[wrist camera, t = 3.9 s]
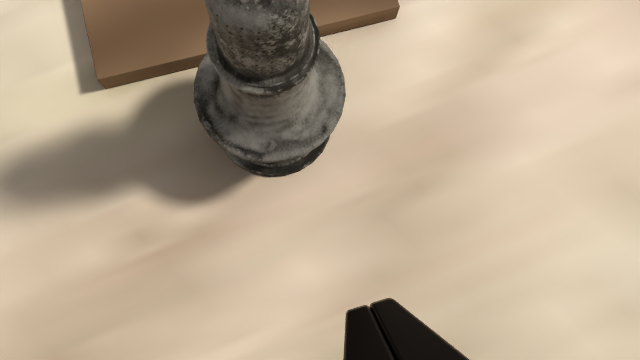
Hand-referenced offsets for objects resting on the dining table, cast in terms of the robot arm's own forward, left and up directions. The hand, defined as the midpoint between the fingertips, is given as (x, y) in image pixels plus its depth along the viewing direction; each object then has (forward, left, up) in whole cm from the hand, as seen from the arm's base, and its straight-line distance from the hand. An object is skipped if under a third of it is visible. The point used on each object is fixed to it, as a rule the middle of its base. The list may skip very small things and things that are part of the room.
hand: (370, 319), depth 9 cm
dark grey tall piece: (+5, +7, -13) cm, 15 cm away
